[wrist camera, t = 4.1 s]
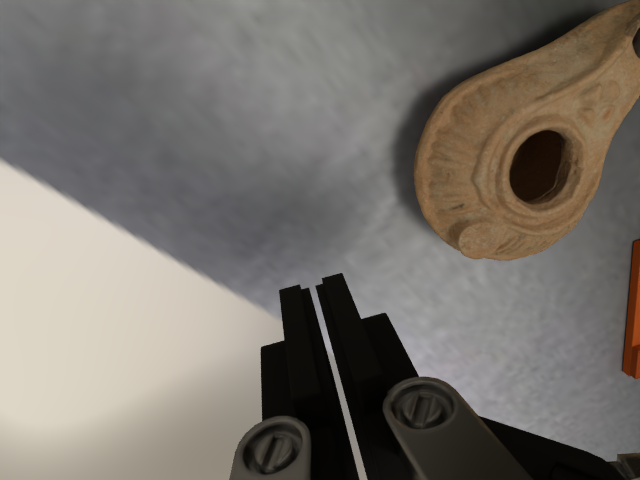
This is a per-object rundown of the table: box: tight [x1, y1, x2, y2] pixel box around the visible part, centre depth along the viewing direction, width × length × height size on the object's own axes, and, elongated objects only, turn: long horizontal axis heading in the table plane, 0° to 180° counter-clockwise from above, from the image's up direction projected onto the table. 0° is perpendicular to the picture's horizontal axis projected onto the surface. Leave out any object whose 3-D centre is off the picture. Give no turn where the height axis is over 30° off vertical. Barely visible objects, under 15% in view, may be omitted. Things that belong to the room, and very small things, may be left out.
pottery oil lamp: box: [414, 0, 640, 260], centre depth 19 cm, size 9×12×7 cm
